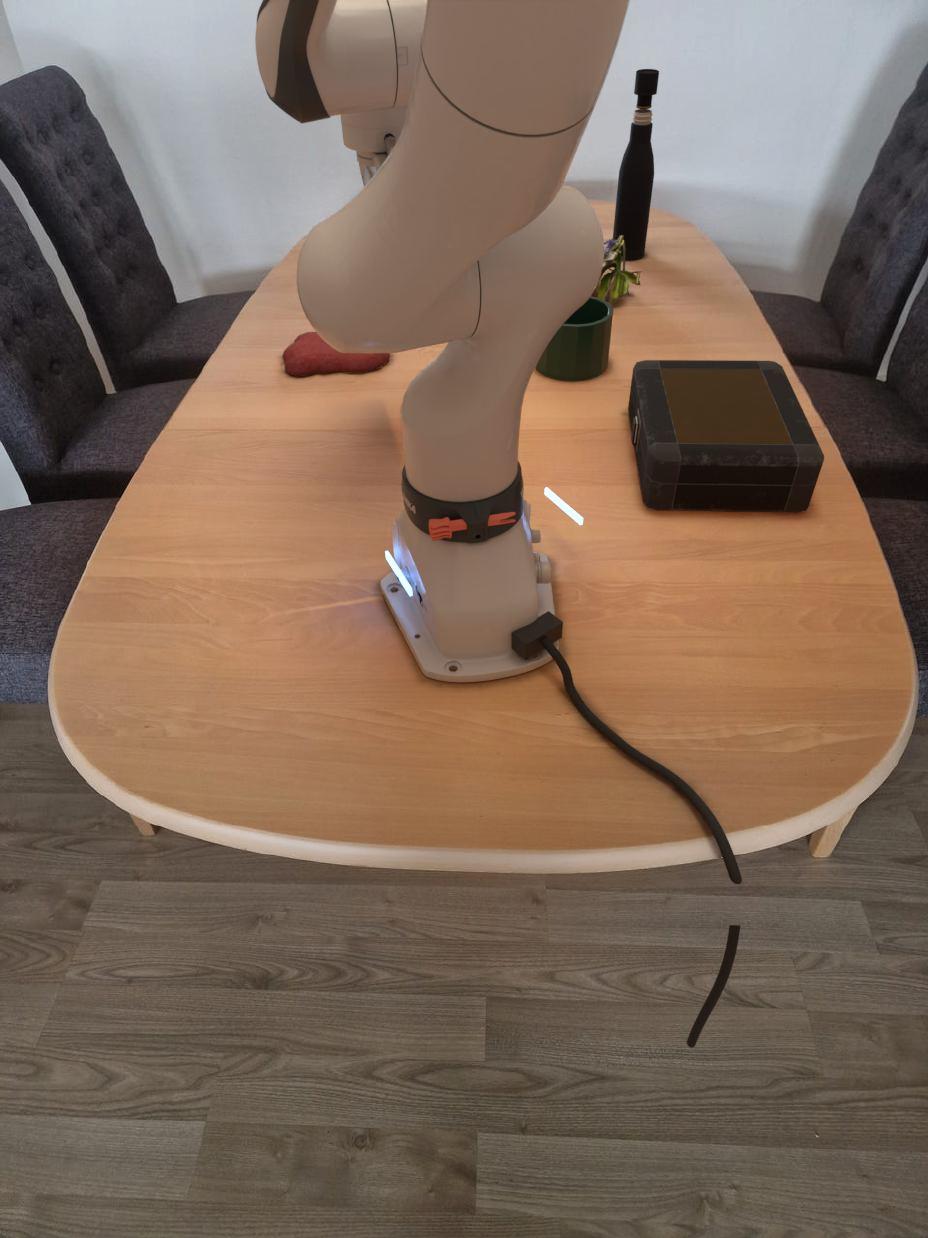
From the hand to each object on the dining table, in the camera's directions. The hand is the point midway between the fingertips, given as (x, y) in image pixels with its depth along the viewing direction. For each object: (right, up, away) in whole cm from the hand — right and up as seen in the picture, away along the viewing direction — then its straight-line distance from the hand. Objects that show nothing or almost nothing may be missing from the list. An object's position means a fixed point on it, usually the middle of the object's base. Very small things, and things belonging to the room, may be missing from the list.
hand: (394, 257), depth 96 cm
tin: (+25, -3, +29) cm, 39 cm away
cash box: (+40, -22, +10) cm, 47 cm away
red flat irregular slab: (-12, -1, +34) cm, 36 cm away
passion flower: (+34, +15, +48) cm, 61 cm away
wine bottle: (+40, +28, +62) cm, 79 cm away
